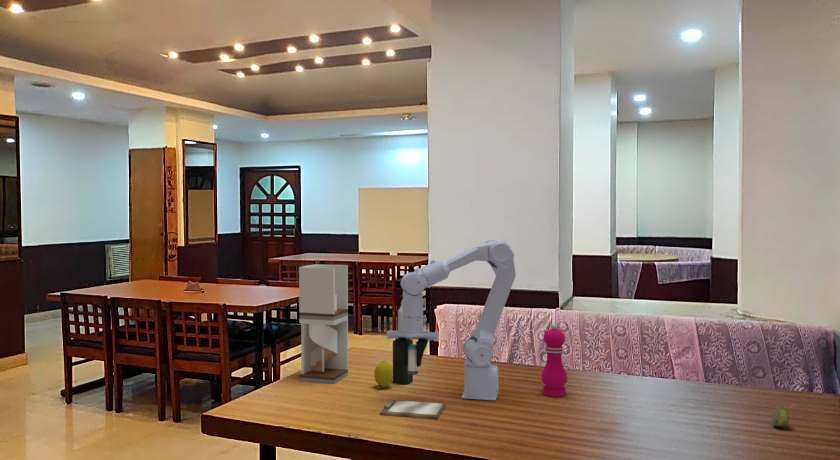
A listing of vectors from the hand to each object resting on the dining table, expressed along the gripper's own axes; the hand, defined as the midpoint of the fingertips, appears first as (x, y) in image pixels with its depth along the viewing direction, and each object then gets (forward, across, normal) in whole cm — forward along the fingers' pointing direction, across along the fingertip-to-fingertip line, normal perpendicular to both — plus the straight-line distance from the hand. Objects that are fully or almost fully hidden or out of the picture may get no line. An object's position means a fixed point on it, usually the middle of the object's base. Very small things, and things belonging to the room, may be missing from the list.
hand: (412, 365), depth 170 cm
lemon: (+10, -11, +9) cm, 17 cm away
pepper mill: (+10, +38, +14) cm, 42 cm away
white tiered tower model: (+10, -32, +15) cm, 37 cm away
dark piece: (+10, -7, +16) cm, 20 cm away
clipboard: (+9, +2, -9) cm, 14 cm away
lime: (+10, +91, -1) cm, 91 cm away
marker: (+2, 0, 0) cm, 2 cm away
